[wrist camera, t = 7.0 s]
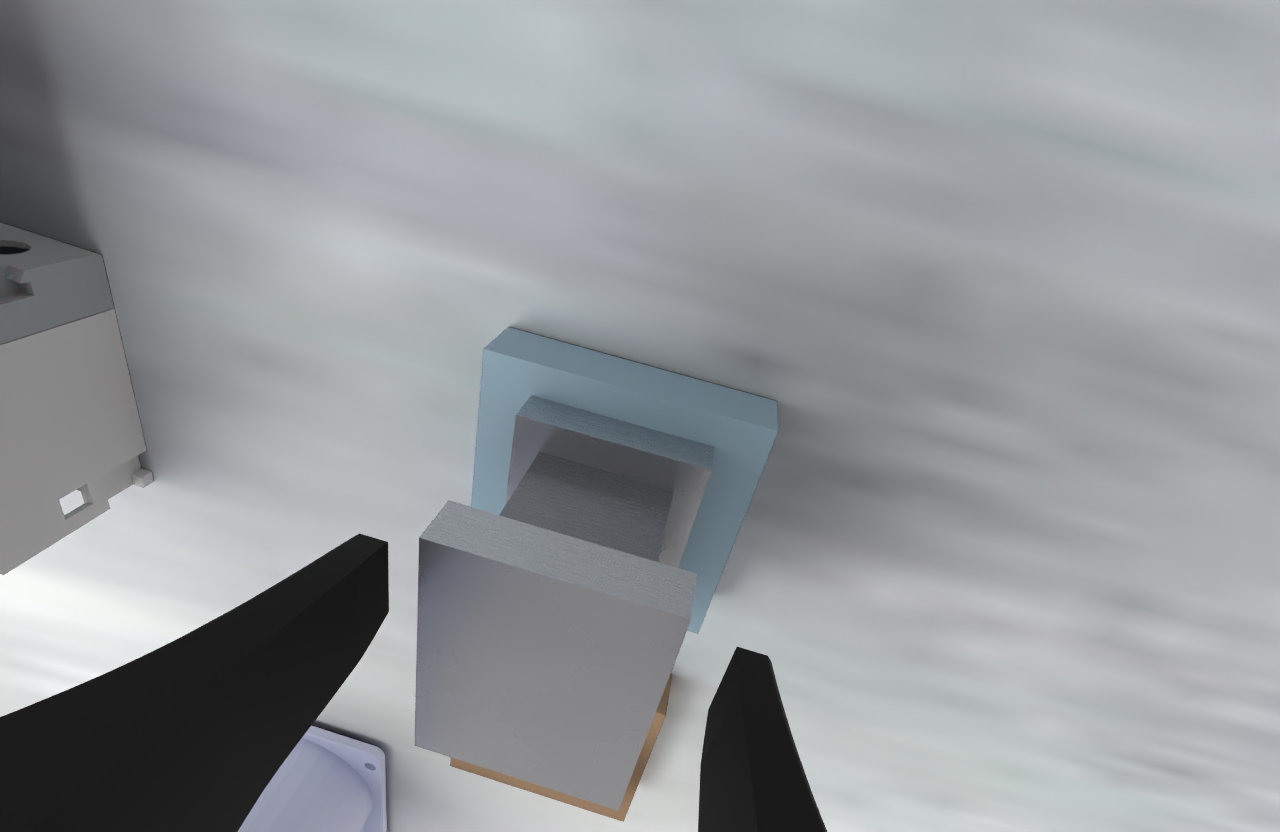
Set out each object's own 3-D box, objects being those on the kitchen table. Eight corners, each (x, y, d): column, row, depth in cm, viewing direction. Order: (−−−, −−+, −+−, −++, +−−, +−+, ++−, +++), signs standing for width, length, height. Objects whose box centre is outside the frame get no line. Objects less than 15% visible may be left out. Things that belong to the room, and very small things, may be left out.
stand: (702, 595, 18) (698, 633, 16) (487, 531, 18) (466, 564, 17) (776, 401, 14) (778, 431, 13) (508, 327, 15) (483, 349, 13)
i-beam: (714, 446, 13) (691, 619, 9) (657, 617, 16) (618, 811, 12) (531, 394, 14) (419, 537, 9) (507, 572, 17) (414, 745, 12)
